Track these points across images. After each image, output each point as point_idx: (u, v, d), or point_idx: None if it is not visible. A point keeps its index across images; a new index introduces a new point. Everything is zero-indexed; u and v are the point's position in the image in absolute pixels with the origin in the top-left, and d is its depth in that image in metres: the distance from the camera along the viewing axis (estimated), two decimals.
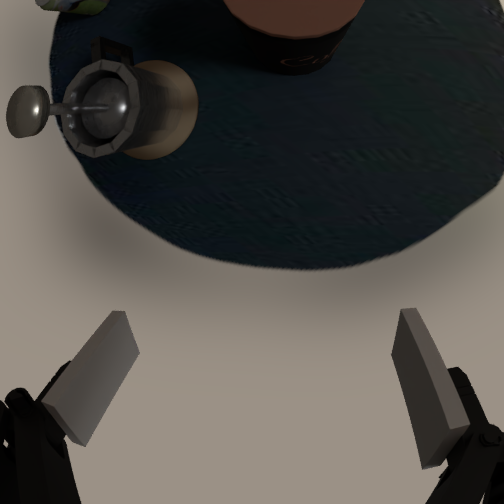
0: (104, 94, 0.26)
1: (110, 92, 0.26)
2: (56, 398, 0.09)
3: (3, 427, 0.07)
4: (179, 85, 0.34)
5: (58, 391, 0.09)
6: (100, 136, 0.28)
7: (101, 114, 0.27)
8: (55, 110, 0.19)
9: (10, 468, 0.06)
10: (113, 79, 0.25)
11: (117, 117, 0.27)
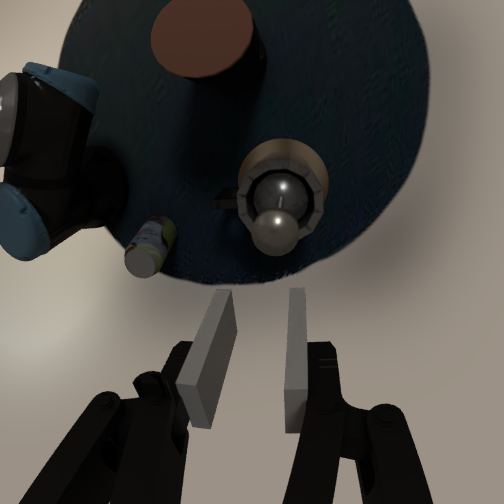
0: (267, 199, 0.37)
1: (268, 193, 0.37)
2: (195, 377, 0.10)
3: (110, 427, 0.08)
4: (266, 152, 0.45)
5: (194, 369, 0.10)
6: (304, 207, 0.37)
7: (285, 204, 0.37)
8: None
9: (102, 471, 0.07)
10: (256, 189, 0.37)
11: (292, 188, 0.36)
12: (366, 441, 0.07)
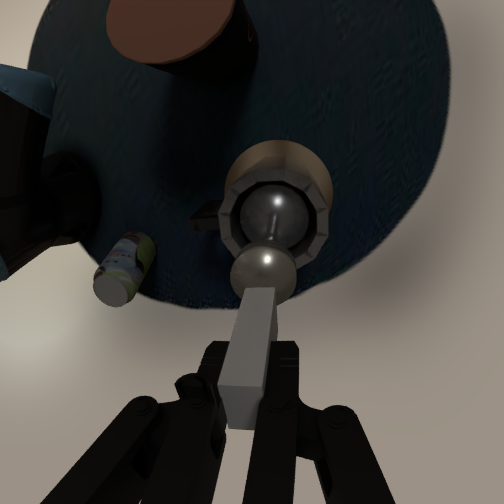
0: (258, 218, 0.30)
1: (258, 210, 0.29)
2: (237, 377, 0.10)
3: (145, 435, 0.08)
4: (258, 157, 0.37)
5: (235, 369, 0.10)
6: (304, 228, 0.30)
7: (280, 224, 0.30)
8: None
9: (131, 479, 0.07)
10: (244, 205, 0.29)
11: (288, 204, 0.29)
12: (318, 441, 0.08)
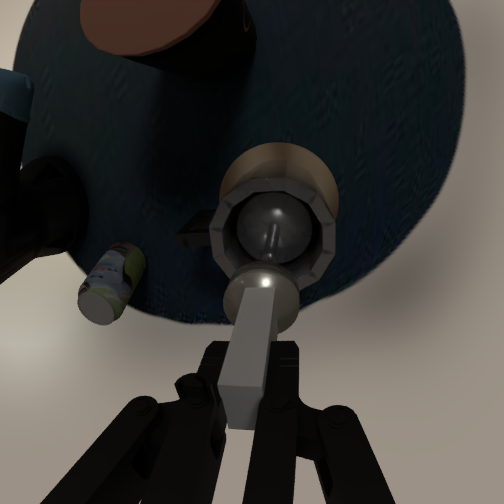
0: (256, 228, 0.27)
1: (256, 220, 0.27)
2: (237, 377, 0.10)
3: (145, 435, 0.08)
4: (256, 161, 0.34)
5: (235, 369, 0.10)
6: (307, 240, 0.27)
7: (280, 235, 0.27)
8: None
9: (131, 479, 0.07)
10: (241, 214, 0.27)
11: (290, 213, 0.26)
12: (318, 441, 0.08)
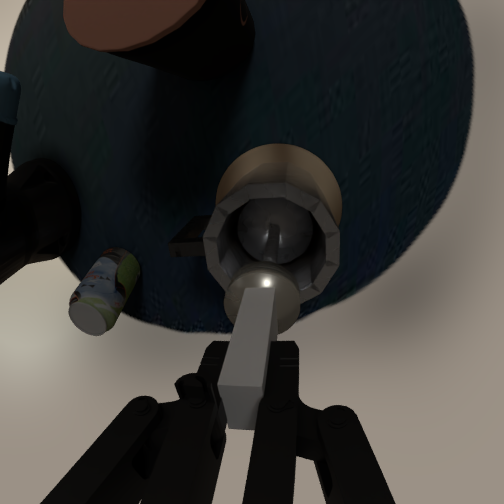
0: (257, 229, 0.27)
1: (257, 220, 0.27)
2: (237, 377, 0.10)
3: (145, 435, 0.08)
4: (255, 164, 0.32)
5: (235, 369, 0.10)
6: (308, 240, 0.27)
7: (281, 235, 0.27)
8: None
9: (131, 479, 0.07)
10: (241, 214, 0.27)
11: (290, 213, 0.26)
12: (318, 441, 0.08)
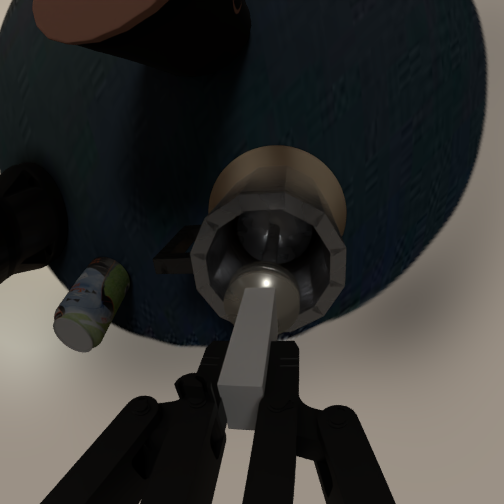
0: (257, 229, 0.27)
1: (257, 220, 0.27)
2: (237, 377, 0.10)
3: (145, 435, 0.08)
4: (251, 168, 0.29)
5: (235, 369, 0.10)
6: (308, 240, 0.27)
7: (281, 235, 0.27)
8: None
9: (131, 479, 0.07)
10: (241, 214, 0.27)
11: None
12: (318, 441, 0.08)
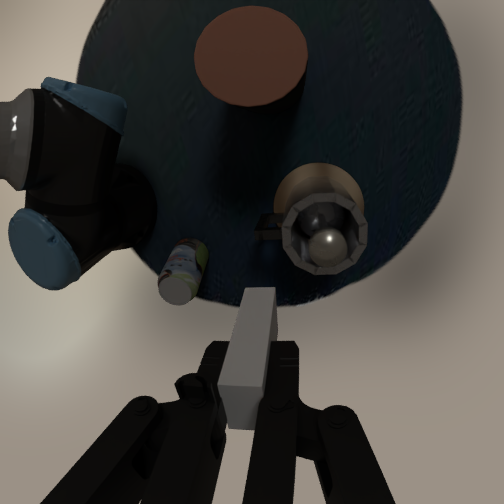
0: (310, 215, 0.42)
1: (310, 210, 0.42)
2: (237, 377, 0.10)
3: (145, 435, 0.08)
4: (303, 177, 0.44)
5: (235, 369, 0.10)
6: (341, 223, 0.42)
7: (325, 220, 0.42)
8: None
9: (131, 479, 0.07)
10: None
11: (331, 206, 0.41)
12: (318, 441, 0.08)
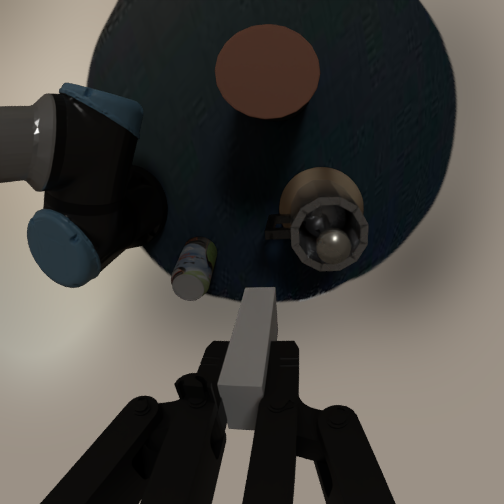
0: (314, 216, 0.46)
1: (314, 211, 0.45)
2: (237, 377, 0.10)
3: (145, 435, 0.08)
4: (308, 180, 0.48)
5: (235, 370, 0.10)
6: (343, 224, 0.46)
7: None
8: None
9: (131, 479, 0.07)
10: None
11: (333, 208, 0.45)
12: (318, 441, 0.08)
